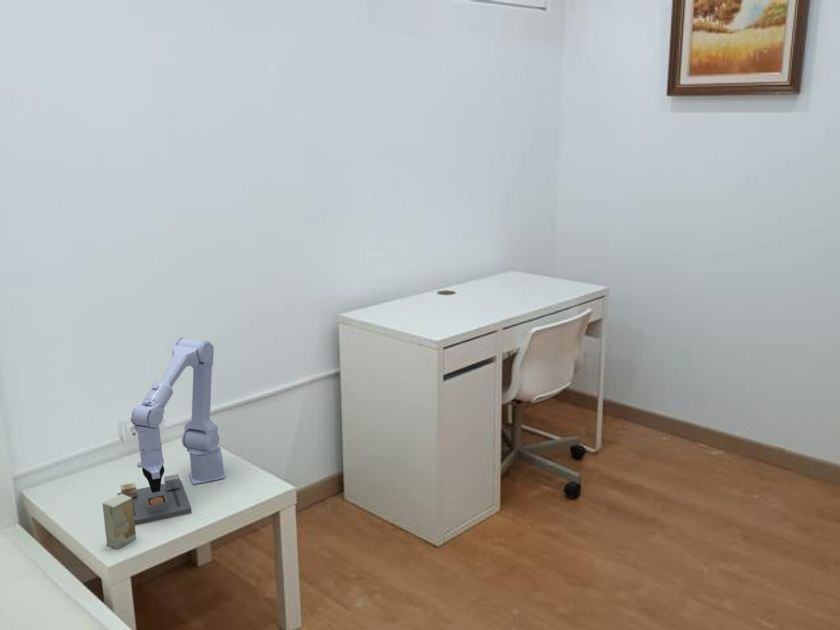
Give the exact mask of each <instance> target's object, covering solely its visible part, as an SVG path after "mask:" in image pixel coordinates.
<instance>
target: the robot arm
mask: <svg viewBox="0 0 840 630" xmlns="http://www.w3.org/2000/svg"><path fill="white" fill-rule="evenodd" d="M171 349H172V350H171V351H172V353H171V354H172V358H171V360H170V362H169V364H168V366H167V368H166V369H165V371H164V373H163V375H162V377H161V379H160V381H157V382H156V381H155V382H154V383H153V385H152V386H151V388H150V390H149V391H148V392H147V394H146V396H145V397H144V400H143V401H142V402H141V404H138V405H137V406H135V407H134V408H133V410H132V412H131V417H130V422H131V424H132V425H133V426H134V429H135V432H137V438H138V439H137V440H138V448H139V456H140V461H138V462H137V463H136V467H137V468H141V469H142V474H143V476H144V478H146V480H147V482H148V484H149V487H150V488H151V491H152V493H154V492H159V491H160V488H161V484H162V479H163V478H162V477H164V476H163V475H164V474H165V471H166V470H165V467H164V464H165V459H164V456H163V449H162V440H161V438H162V437H161V430H160V425H161V424H162V422H163V418H164V413H165V407H166V406H167V405H168V402H169V400H170V399H171V397H172V396H173V394H174V392H173V391H174V390H173V386H174V384H175V383H176V382H177V381H178V379H179V378H180V376H181V375H182V373H183V372H184V370H186V368H187V367H191V368H192V369H193V371H192V373H193V374H192V394H191V395H192V396H191V397H192V399H191V401H192V402H191V420H190V421H188V422H186V423H185V425H184V427H183V428H184V429H183V433H182V436H181V443H182V446H183V448H186V451H187V452H188V453H189V461H190V471H189V472H188V476H189V479H190V480H191V481H190V482H191V483H192V485H194V486H195V485H200V484H203V483H208V482H214V481H219V480H223V479H225V470H224V469H225V468H224V460H223V459H224V458H223V453H222V449H221V447H220V446H219V444H220V436H219V432H218V431H219V430H218V426H217V424H215V422H214V421H212V419H211V404H212V403H211V399H212V375H213V366H214V355H215V354H214V353H215V352H214V351H215V347H214V345H213V343H212V342H211V341H210V340H207V339H204V340H202V339H197V338H195V339H194V338H188V337H187V338H186V337H178V338H177V340H176V341H175V343H174V345H173V346H172V348H171Z"/></svg>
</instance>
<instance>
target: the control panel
mask: <svg viewBox="0 0 840 630" xmlns="http://www.w3.org/2000/svg"><path fill="white" fill-rule="evenodd" d="M180 487H181V488H176V489H171V490H166V488H165V483H161V488H160V491H159V492H154V493H152V491H151V488H150V486H146V487H142V488H136V489H137V497H133V498H132V503H133V513H134V522H135V526H139V525H143V524H148V523H152V522H156V521H160V520H166V519H170V518H175V517H179V516H183V515H189V514H191V513H193V510H192V505H191V503H190V500H189V498H188V495H187V492H186V489H185V487H184V485H183V481H182V480H180ZM120 494H122V493H121V492H117V496H118V495H120ZM156 497H161V498H163V500H164V503H159V504H155V505H150V500H151V499H153V498H156Z"/></svg>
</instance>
